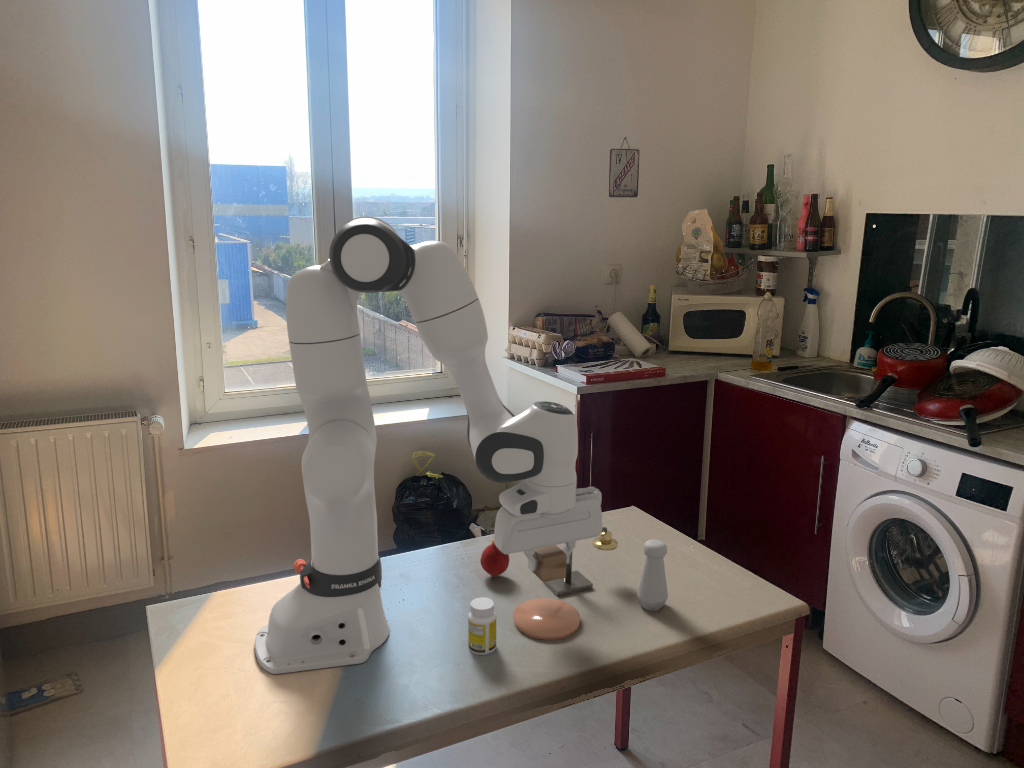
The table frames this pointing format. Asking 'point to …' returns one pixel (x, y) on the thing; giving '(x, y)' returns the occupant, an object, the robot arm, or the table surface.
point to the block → (550, 563)
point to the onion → (494, 560)
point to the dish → (546, 619)
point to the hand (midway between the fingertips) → (548, 565)
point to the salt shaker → (653, 577)
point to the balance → (575, 578)
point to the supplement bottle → (482, 626)
